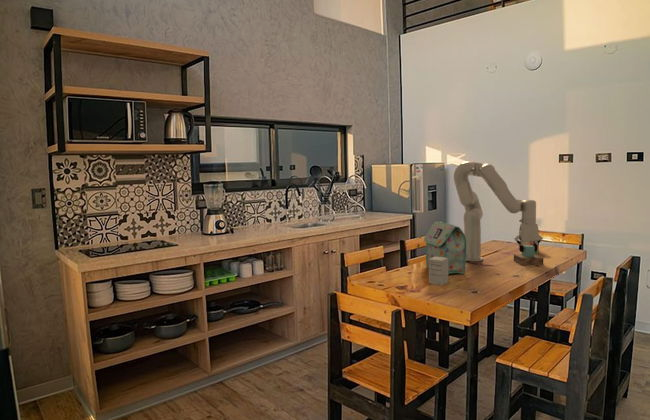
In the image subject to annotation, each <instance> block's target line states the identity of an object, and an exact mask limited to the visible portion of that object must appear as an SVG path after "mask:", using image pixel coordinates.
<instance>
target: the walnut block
mask: <svg viewBox="0 0 650 420" xmlns="http://www.w3.org/2000/svg"><path fill="white" fill-rule="evenodd" d="M513 262H515V263H516V264H519V265H521V266H543V265H544V257H542V256H540V255H539V254H534V257H524V256H522V253H520V254H519V253H518V254H513Z"/></svg>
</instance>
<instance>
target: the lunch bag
mask: <svg viewBox="0 0 650 420" xmlns="http://www.w3.org/2000/svg"><path fill="white" fill-rule="evenodd" d="M423 241H424V242H425V243H426V245H425V246H426V249H425V267H426V268H428V269H429V259H430V258H433V257H444V258H448V275H450V274H466V263H467V261H466V247H467V242H466V237H465V234H464V230H462V229H461V227H459V226H458V225H457V226H456V225H455V224H450V223H446V222H443V221H440V220H439V221H434V222H433V223H432V225H431V226H430V227H429V229H428V230H427V232H426V234H425V235H424V238H423Z"/></svg>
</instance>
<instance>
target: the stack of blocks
mask: <svg viewBox="0 0 650 420" xmlns="http://www.w3.org/2000/svg"><path fill="white" fill-rule="evenodd" d="M523 245H532V246H533V245H534V242H533V241H524V243H523ZM539 245H540V243H539V244H538V247H537V252H535V251H534V254H535V255H539V253H540V252H539V251H540V249H539Z"/></svg>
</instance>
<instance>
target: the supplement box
mask: <svg viewBox="0 0 650 420" xmlns="http://www.w3.org/2000/svg"><path fill="white" fill-rule="evenodd" d="M428 283H431V285H435V284H438V285H437V286H441V285H443V286H444V285H446V284H448V283H449V274H448V258H444V257H433V258H430V259H429V268H428Z"/></svg>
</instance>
